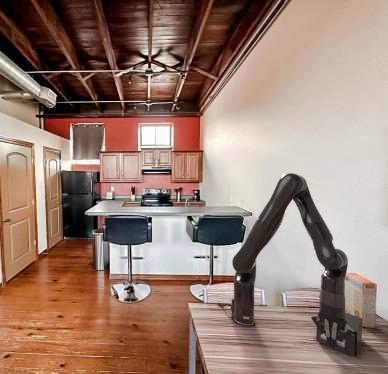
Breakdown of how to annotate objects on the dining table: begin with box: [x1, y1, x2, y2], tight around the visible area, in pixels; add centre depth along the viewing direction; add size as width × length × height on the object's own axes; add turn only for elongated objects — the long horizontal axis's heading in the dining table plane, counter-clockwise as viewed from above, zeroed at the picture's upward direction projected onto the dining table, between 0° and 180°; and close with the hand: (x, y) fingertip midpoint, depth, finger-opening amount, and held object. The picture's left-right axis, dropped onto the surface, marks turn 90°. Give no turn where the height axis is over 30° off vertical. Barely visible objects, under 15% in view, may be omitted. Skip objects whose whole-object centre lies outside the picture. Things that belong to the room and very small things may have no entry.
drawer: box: [316, 321, 355, 357], centre depth 95 cm, size 18×11×8 cm, turn 130°
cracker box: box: [345, 271, 378, 329], centre depth 114 cm, size 14×6×21 cm, turn 168°
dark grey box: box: [316, 313, 363, 357], centre depth 99 cm, size 15×13×10 cm
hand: (331, 346), depth 89 cm, fingers closed
